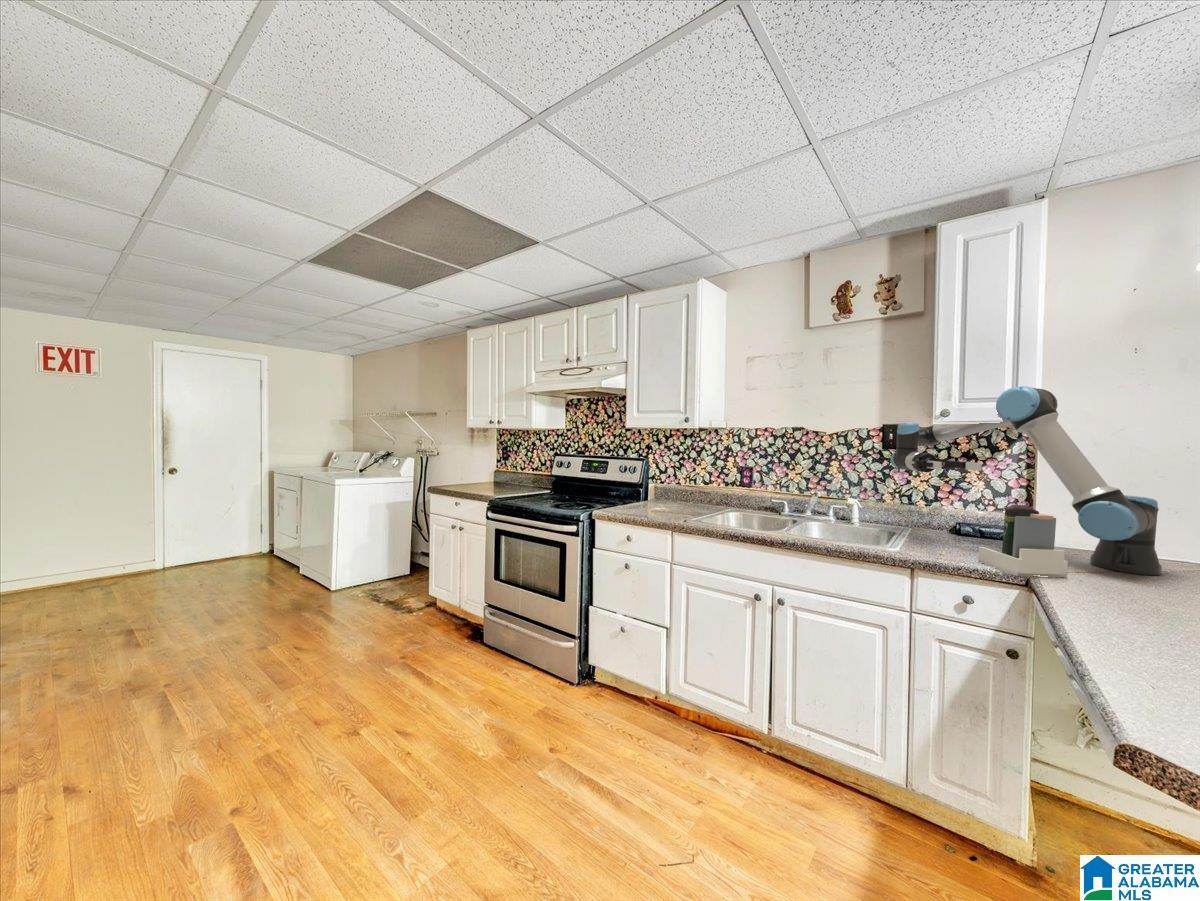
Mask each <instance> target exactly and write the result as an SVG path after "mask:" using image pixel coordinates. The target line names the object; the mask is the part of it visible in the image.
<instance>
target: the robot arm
mask: <svg viewBox="0 0 1200 901" xmlns="http://www.w3.org/2000/svg"><path fill="white" fill-rule="evenodd" d="M995 407H996V410H997V412H998V414H997V415H998V417H1000V418H1002V420H1003V422H1000V423H979V424H964V425H947V426H938V427H937V426H934V425H935V424H933V425H929V426H926V427H920V424H919V423H918V422H900V423H898V425H897V431H896V448H895V451H894V452H893V453H892V454H891V456H890V463H891V465H892V466H893V467H894V468H896V469H900V470H905V471H914V473H918V472H919V473H920V472H921V473H931V472H933V471H934V470H940V471H941V470H942V469H948V468H949V469H950V468H951V469H963V470H970V471H978V472H982V467H983V466H982V465H983V463H982V462H974V461H971V460H970V459H967V461H959V460H948V459H944V458H943V459H942V458H938V457H936V456H935V455H934V454H932V453H929V452H920V451H919V446H923V447H930V446H931V447H932V446H935V445H937V444H938V443H941V442H942V443H943V442H946V441H950V440H953V439H954V440H955V439H957V438H962V437H965V436H969V435H974V434H977V433H981V432H985V431H989V430H994V429H998V428H1002V427H1006V426H1009V425H1012V426H1013V428H1014V429H1015V431H1016V432H1018V433H1020V434H1025V435H1026V436H1027V438H1029V440H1030V441H1031V443H1032V444H1033V446H1034V447H1035V448H1036V450H1037V451H1038V452H1039V454H1040V455H1041V456H1042V458H1043V459H1044V460H1045V461H1046V463H1047V464H1048V465H1049V467H1050V468H1051V469H1052V471H1053V472H1054V473H1055V475H1056V476H1057V478H1058V479H1059V480H1060V482H1061V483H1062V485H1063V486H1064V487H1065V488H1066V489H1067V491H1068V492H1069V493H1070V495H1071V496H1072V497H1073V498H1072V502H1071V503H1070V505H1071V507H1072V508H1073V509H1074V511H1076V513H1077V515H1078V516H1077V520H1078V524H1079V526H1080V527H1081V528H1082V530H1083V531H1084V532H1085V533H1087V534H1088V535H1090V536H1092V537H1094V538H1096V539H1099V541H1098V543H1097V544H1096V546H1095V548H1094V552H1093V553H1092V554H1091V555H1090V559H1089V563H1090V564H1091V565H1093V566H1096V567H1099V568H1103V569H1107V570H1111V571H1116V572H1120V573H1126V574H1134V575H1145V576H1160V575H1162V569H1163V567H1162V565H1161V564H1160V561H1159V557H1158V554H1157V551H1156V548H1155V546H1156V535H1157V525H1158V524H1157V523H1158V512H1159V510H1160V509H1159V504H1158V503H1159V502H1158V500H1156V499H1154V498H1151V497H1145V496H1138V495H1128V494H1124V493H1123V492H1122V491H1121V489H1120V488H1117V487H1113V486H1110V485H1109V484H1107V482H1106V481H1105V480H1104V478H1103V477H1102V476H1101V475H1100V473H1099V472H1098V470H1097V469H1096V468H1095V467H1094V465H1092V463H1091V462H1090V461H1089V459H1088V458H1087V457H1086V456H1085V454H1084V453H1083V452H1082V451H1081V449H1080V448H1079V446H1077V445H1076V443H1075V442H1074V441H1073V439H1072V438H1071V437H1070V436H1069V435H1068V433H1067V432H1066V430H1065V429H1064V428H1063V427H1062V425H1061V424H1060V423H1059V422H1058V417H1059V416H1060V414H1059V412H1058V411H1057V408H1058V400H1057V397H1056V396H1055V395H1054V393H1052V392H1051V391H1049V390H1046V389H1043V388H1039V387H1038V388H1036V387H1031V386H1027V385H1026V386H1025V385H1022V386H1020V385H1019V386H1015V387H1011V388H1008V389H1006V390H1004V391H1003V392H1002V393H1001V394H1000V395H999V396H998V398H997V400H996V403H995Z"/></svg>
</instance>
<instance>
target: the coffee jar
mask: <svg viewBox="0 0 1200 901" xmlns="http://www.w3.org/2000/svg"><path fill="white" fill-rule="evenodd" d="M1004 510H1005V511H1004V518H1003V519H1004V522H1003V536H1002V537H1003V538H1002V549H1001V553H1003V554H1006V555H1009V556H1012V554H1013V539H1014V525H1015V516H1023V517H1030V514H1040V511H1039V510H1037V509H1034V508H1032V507H1030V506H1029V505H1028V506H1027V505H1025V504H1024V505H1023V504H1012V505H1009V506H1007V507H1005V509H1004ZM1012 557H1014V556H1012ZM1016 558H1019V557H1016Z"/></svg>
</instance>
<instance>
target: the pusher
mask: <svg viewBox="0 0 1200 901" xmlns="http://www.w3.org/2000/svg"><path fill="white" fill-rule="evenodd" d="M1056 527H1057V517H1055V516H1054V515H1049V514H1044V513H1043V514H1042V513H1039V514H1030V517H1023V516H1015V525H1014V539H1013V554H1012V556H1014V557H1019V551H1020V549H1048V550H1055V543H1056V542H1055V541H1056Z"/></svg>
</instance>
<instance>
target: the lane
mask: <svg viewBox="0 0 1200 901" xmlns="http://www.w3.org/2000/svg"><path fill="white" fill-rule="evenodd" d="M1065 557H1066V550H1063V549H1054V550H1048V549H1020V551H1019V558H1016V557H1012V556H1009V555H1006V554H1003V553H1002V552H999V551H997V550H994V549H990V548H987V547H983V546H978V556H977V562H978V563H980V562H981V563H980V564H982V563H984V564H983V565H985V564H987V565H986V566H988V565H990V566H992V567H991V568H993V567H995V568H994V569H996V568H997V569H996V570H999V571H1001V572H1004V573H1007V574H1010V575H1012V576H1015V577H1020V578H1021V577H1022V578H1023V577H1024V578H1025V577H1028V578H1033V577H1032V576H1033V575H1040V576H1048V577H1065V578H1064V579H1067V578H1068V569H1069V568H1068V565H1069V561H1068V560H1066V558H1065ZM990 566H989V567H990ZM1048 577H1047V578H1048Z"/></svg>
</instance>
